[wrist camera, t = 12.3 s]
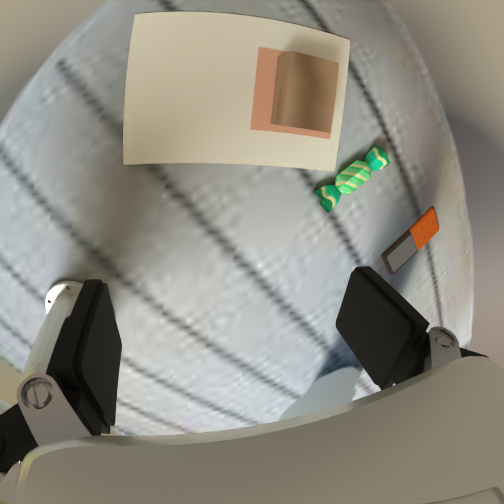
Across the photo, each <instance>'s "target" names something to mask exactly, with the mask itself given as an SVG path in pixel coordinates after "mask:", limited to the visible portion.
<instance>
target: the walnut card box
mask: <svg viewBox="0 0 504 504" xmlns="http://www.w3.org/2000/svg"><path fill="white" fill-rule="evenodd" d="M338 66H339V63H337V62H334V61H330V60H327V59H323V58H319V57H315V56H311V55H307V54H303V53H299V52H294V51H289V52H287V53H285V54H283V55H281V56H279V57H278V60H277V69H276V78H275V87H274V96H273V105H272V114H271V123H270V124H275V125H281V126H288V127H295V128H302V129H309V130H315V131H321V132H326V133H330V132H331V125H332V117H333V110H334V102H335V94H336V85H337V75H338Z"/></svg>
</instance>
